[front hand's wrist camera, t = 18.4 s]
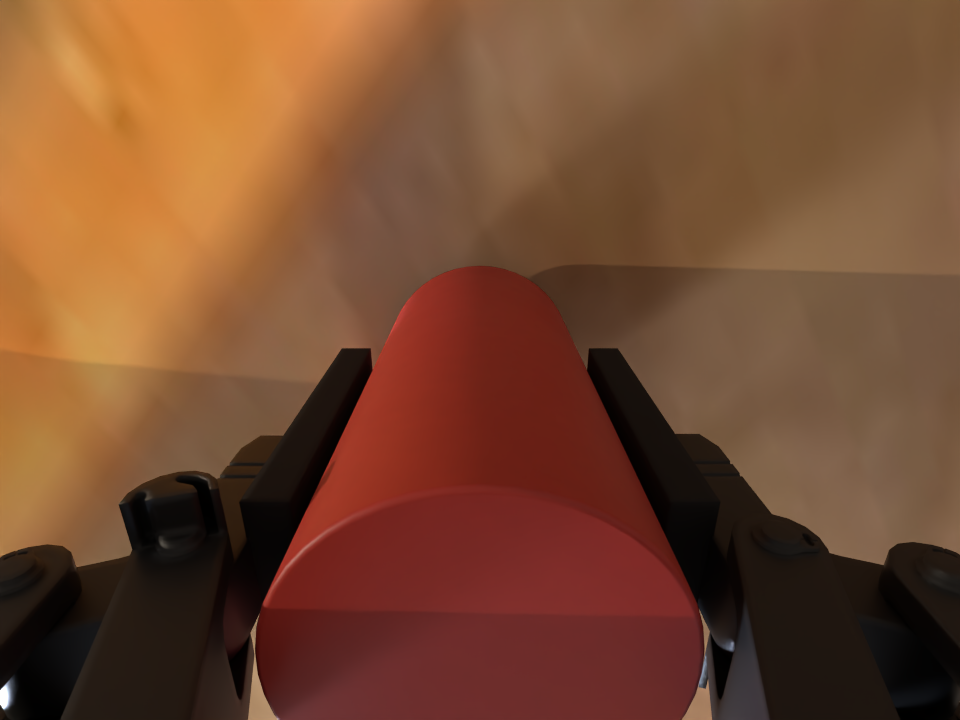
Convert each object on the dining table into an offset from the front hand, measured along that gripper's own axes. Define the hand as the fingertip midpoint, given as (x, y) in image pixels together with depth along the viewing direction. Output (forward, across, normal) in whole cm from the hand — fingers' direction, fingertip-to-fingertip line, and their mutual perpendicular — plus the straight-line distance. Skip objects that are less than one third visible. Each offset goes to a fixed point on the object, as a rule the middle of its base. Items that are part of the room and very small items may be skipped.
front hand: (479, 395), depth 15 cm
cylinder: (+3, 0, 0) cm, 3 cm away
